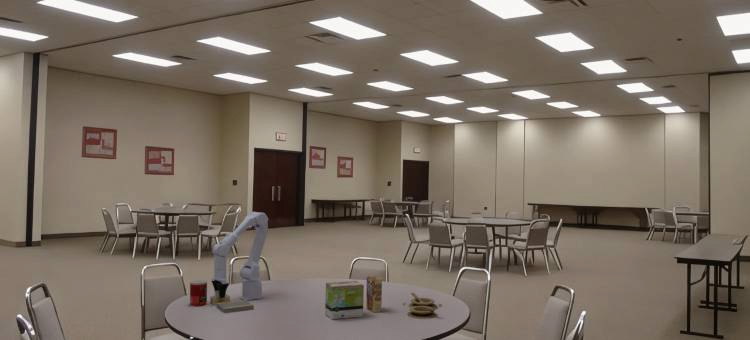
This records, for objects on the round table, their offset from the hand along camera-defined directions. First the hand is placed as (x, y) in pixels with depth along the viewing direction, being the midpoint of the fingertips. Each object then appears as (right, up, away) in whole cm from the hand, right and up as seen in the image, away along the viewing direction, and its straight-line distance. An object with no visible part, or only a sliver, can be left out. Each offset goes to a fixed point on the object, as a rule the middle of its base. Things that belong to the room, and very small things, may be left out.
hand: (219, 296), depth 279 cm
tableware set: (+99, -5, -12) cm, 99 cm away
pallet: (0, -4, 0) cm, 4 cm away
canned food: (-10, -4, -2) cm, 11 cm away
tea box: (+62, -4, -23) cm, 66 cm away
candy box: (+76, -4, -12) cm, 77 cm away
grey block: (0, 0, 0) cm, 0 cm away
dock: (+10, -4, -10) cm, 15 cm away
